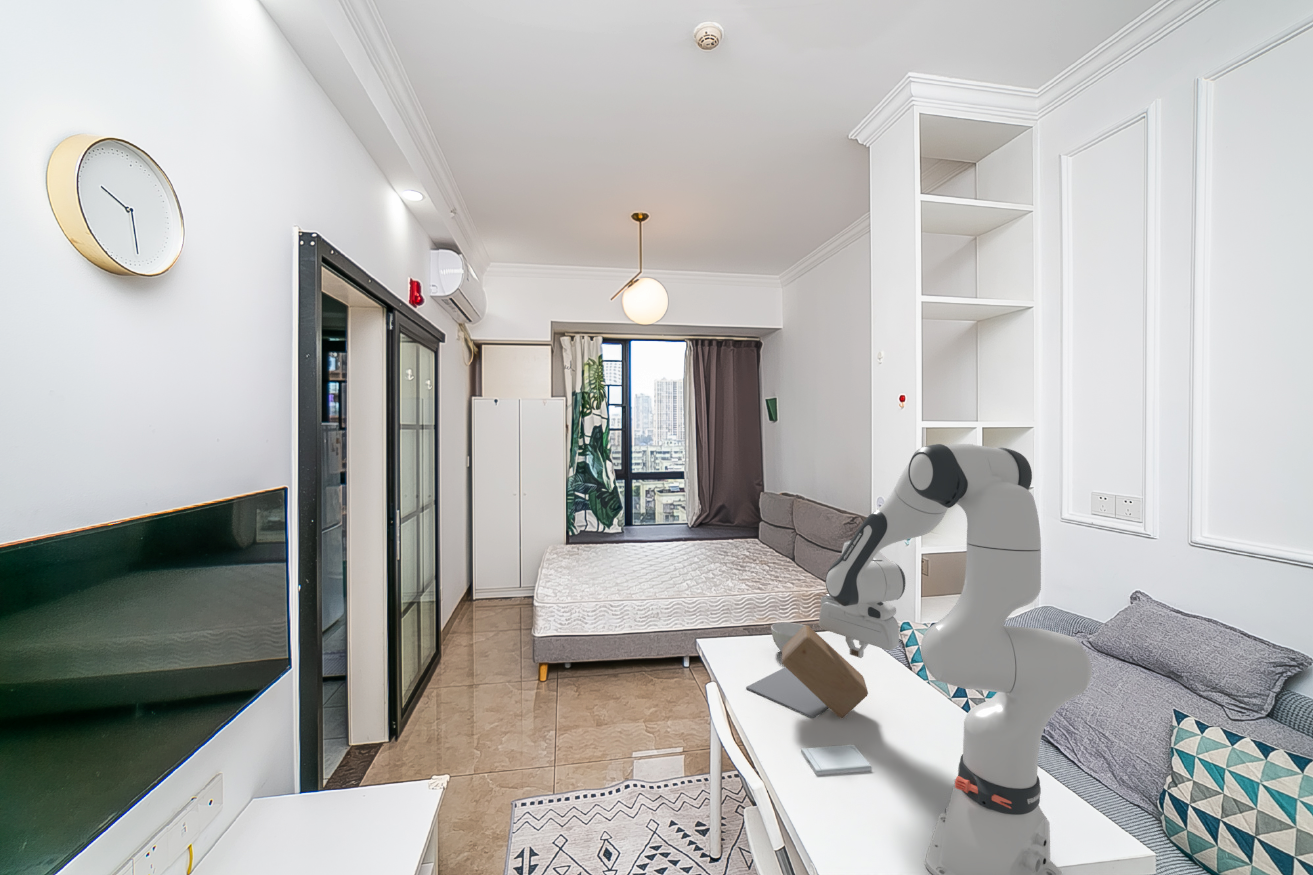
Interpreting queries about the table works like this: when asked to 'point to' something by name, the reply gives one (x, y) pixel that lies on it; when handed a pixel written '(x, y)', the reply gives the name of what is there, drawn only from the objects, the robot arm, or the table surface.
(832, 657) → the wooden block
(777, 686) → the grey flat square slab
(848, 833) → the table surface
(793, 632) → the teacup
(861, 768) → the hard drive
